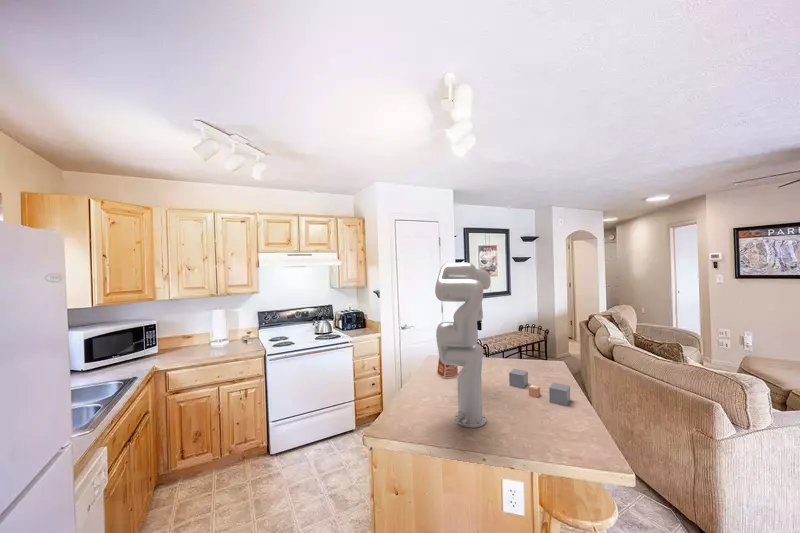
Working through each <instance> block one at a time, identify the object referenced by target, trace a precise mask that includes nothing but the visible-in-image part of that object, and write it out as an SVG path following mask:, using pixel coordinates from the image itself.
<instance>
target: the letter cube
mask: <svg viewBox="0 0 800 533" xmlns="http://www.w3.org/2000/svg"><path fill="white" fill-rule="evenodd" d="M528 396H529V397H533V398H540V396H541V386H540V385H535V384H530V385H529V386H528Z"/></svg>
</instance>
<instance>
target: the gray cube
mask: <svg viewBox="0 0 800 533" xmlns="http://www.w3.org/2000/svg"><path fill="white" fill-rule="evenodd" d="M528 376H529V372H528V370H523V369H517V368H513V369H512V370H510V371H509V372H508V377H509V378H508V379H509V384H508V385H509V386H511V387H515V388H518V389H519V388H520V389H523V390H524V389H525V387H527V386H528V384H529V377H528Z"/></svg>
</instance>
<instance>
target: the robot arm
mask: <svg viewBox="0 0 800 533" xmlns="http://www.w3.org/2000/svg"><path fill="white" fill-rule="evenodd" d="M491 283H492V282H491V276H490V273H489V272H488V271H487V270H483V269H480V268H476V266H475V265H474V264H473V263H471V262H466V261H465V262H462V261H461V262H446V263H444V264H443V265H442V266H441V267H440V269H439V271H438V275H437V279H436V283H435V286H434V289H435V290H434V294H435V297H436V299H437V300H438V301H440V302H450V303H451V302H454V303H455V302H456V303H458V302H461V303H462V305H460V306H459V307H458V308H457V309H456V310H455V312H454V313H453V321H442V322H440V323H439V324H438V325H437V327H436V329H435V330H436V331H435V334H436V336H435V338H436V345H437V351H438V356H439V357H438V359H439V358H440V361H441V362H442V363H443V364H445V365H454V366H459V367H462V368H461V369H460V371H458V376H456V379H457V408H458V409H457V412H456V413H455V414H454V420H453V422H454V424H456V425H459V426H462V427H466V428H480V427H483V426H484V425H485V424H486V423H487V416H486V415H485V414H484V413H483V394H482V393H483V392H482V391H483V390H482V388H483V387H482V368H483V358H484V349H483V347H482V346H481V344H479V343H478V341H479V339H478V338H479V332H478V331H482V326H483V325H482V324H483V323H482V321H483V319H484V315H483V314H484V313H483V312H484V311H483V297H484V290H489V289H490V287H491Z"/></svg>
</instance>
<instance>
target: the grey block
mask: <svg viewBox="0 0 800 533" xmlns="http://www.w3.org/2000/svg"><path fill="white" fill-rule="evenodd" d="M548 390H549V391H548V392H549V394H548V396H549V403H553V404H556V405H557V404H558V405H561V406H565V407H567V406H568V404H569V403H570V401H571V386H570V385H568V384H564V383H563V384H561V383H558V382H552V384H550V386H549V388H548Z"/></svg>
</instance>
